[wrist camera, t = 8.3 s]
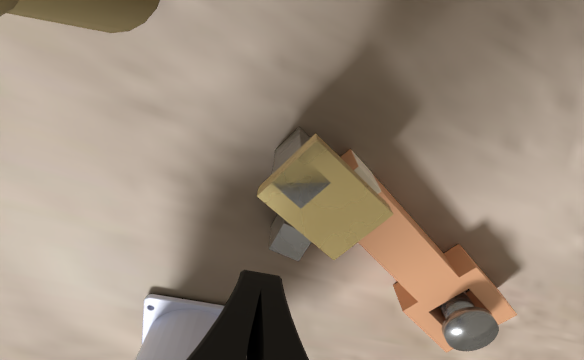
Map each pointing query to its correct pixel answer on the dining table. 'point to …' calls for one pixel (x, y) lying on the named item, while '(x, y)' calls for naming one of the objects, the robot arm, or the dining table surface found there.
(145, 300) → the robot arm
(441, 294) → the link
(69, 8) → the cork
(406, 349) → the dining table surface
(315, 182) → the stand
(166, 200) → the dining table surface
